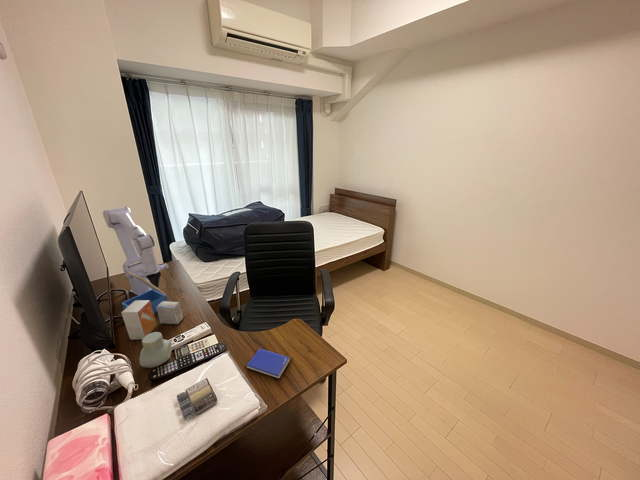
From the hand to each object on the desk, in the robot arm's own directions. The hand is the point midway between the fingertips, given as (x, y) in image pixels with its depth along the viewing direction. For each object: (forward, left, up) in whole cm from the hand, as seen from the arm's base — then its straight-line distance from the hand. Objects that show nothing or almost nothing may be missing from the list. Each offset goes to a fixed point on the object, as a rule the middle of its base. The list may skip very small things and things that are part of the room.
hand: (156, 287), depth 119 cm
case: (0, -6, -9) cm, 11 cm away
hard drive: (+70, -2, -9) cm, 71 cm away
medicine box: (+18, -5, -9) cm, 21 cm away
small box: (+15, -15, -9) cm, 23 cm away
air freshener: (+34, -20, -9) cm, 40 cm away
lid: (0, -3, +3) cm, 5 cm away
